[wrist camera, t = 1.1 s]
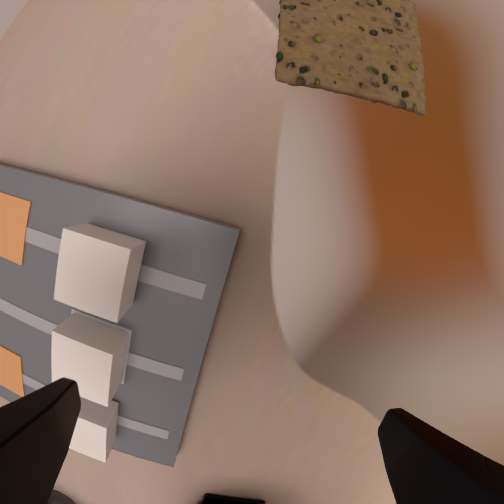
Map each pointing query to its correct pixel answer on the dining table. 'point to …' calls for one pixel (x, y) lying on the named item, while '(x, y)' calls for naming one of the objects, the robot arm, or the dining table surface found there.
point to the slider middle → (89, 357)
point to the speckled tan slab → (353, 50)
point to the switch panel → (134, 320)
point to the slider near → (98, 270)
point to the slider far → (95, 429)
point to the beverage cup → (59, 498)
